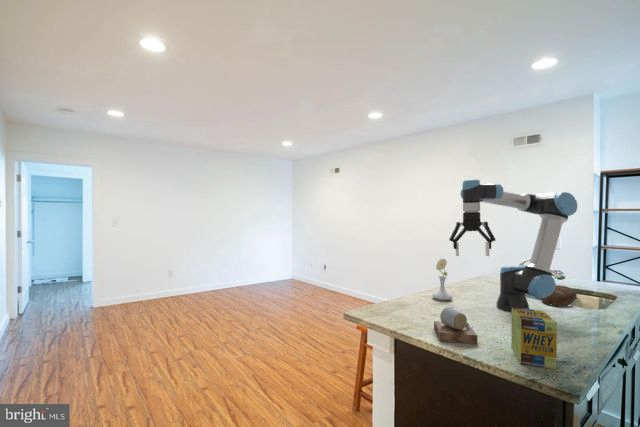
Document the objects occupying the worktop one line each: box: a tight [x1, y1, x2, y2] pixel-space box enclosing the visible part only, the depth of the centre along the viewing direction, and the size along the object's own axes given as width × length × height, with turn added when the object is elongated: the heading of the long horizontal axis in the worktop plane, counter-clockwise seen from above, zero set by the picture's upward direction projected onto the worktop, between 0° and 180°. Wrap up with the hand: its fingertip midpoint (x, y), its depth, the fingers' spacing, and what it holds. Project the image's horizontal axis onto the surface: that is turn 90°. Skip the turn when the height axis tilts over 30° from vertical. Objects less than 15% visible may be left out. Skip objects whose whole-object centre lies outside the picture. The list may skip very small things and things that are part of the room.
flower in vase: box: [432, 258, 453, 301], centre depth 188 cm, size 13×11×25 cm
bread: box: [540, 284, 578, 306], centre depth 189 cm, size 16×36×8 cm, turn 133°
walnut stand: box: [433, 320, 478, 345], centre depth 132 cm, size 14×14×4 cm
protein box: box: [510, 307, 558, 370], centre depth 112 cm, size 10×15×16 cm
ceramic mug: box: [439, 306, 470, 330], centre depth 132 cm, size 11×8×8 cm
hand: (472, 255), depth 151 cm, fingers open, 13 cm apart
